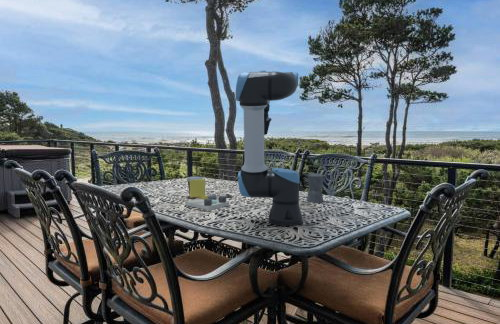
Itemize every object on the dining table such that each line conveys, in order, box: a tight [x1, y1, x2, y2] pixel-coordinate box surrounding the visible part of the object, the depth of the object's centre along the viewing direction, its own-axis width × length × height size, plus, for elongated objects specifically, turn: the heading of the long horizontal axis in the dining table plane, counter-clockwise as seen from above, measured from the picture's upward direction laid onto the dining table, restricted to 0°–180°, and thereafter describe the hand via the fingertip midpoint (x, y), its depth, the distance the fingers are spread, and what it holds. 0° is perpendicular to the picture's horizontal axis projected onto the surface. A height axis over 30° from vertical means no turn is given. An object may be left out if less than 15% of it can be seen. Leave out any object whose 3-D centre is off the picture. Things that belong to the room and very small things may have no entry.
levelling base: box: [184, 195, 230, 211], centre depth 191 cm, size 18×15×5 cm
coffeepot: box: [299, 169, 328, 204], centre depth 203 cm, size 15×9×18 cm, turn 79°
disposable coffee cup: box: [186, 176, 203, 199], centre depth 214 cm, size 10×10×12 cm
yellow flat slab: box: [189, 178, 218, 200], centre depth 189 cm, size 14×5×12 cm, turn 117°
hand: (259, 146), depth 190 cm, fingers closed
